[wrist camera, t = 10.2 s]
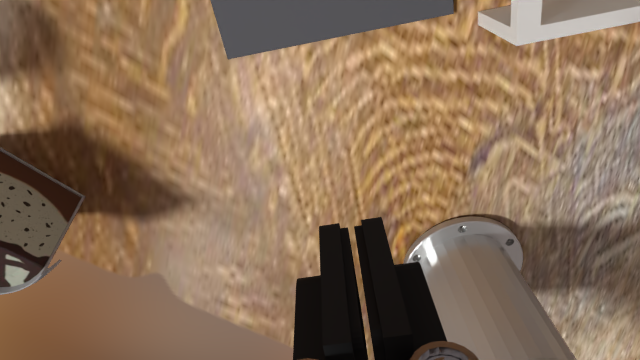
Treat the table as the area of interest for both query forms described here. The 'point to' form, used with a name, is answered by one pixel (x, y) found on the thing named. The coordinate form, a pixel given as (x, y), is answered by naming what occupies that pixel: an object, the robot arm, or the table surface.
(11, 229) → the food container
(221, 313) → the table surface
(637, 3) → the tunnel
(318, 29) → the mat
